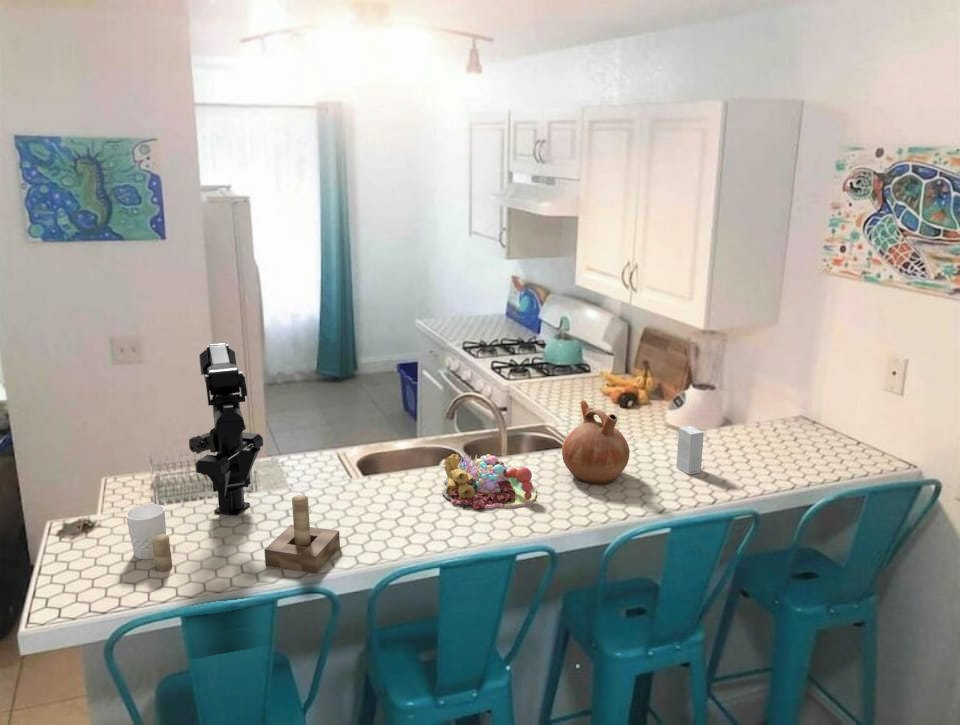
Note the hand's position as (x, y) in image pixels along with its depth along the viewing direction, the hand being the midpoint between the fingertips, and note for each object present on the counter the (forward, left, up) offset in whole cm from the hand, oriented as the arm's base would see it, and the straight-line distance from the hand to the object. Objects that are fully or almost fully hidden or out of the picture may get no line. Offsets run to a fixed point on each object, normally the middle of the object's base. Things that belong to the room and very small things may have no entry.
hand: (233, 488), depth 181 cm
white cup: (+10, -16, -13) cm, 23 cm away
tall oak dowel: (+3, +18, -13) cm, 22 cm away
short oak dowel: (+15, -9, -13) cm, 22 cm away
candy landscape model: (-41, +49, -14) cm, 65 cm away
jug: (-57, +75, -13) cm, 95 cm away
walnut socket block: (+3, +18, -13) cm, 22 cm away
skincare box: (-68, +100, -13) cm, 122 cm away
